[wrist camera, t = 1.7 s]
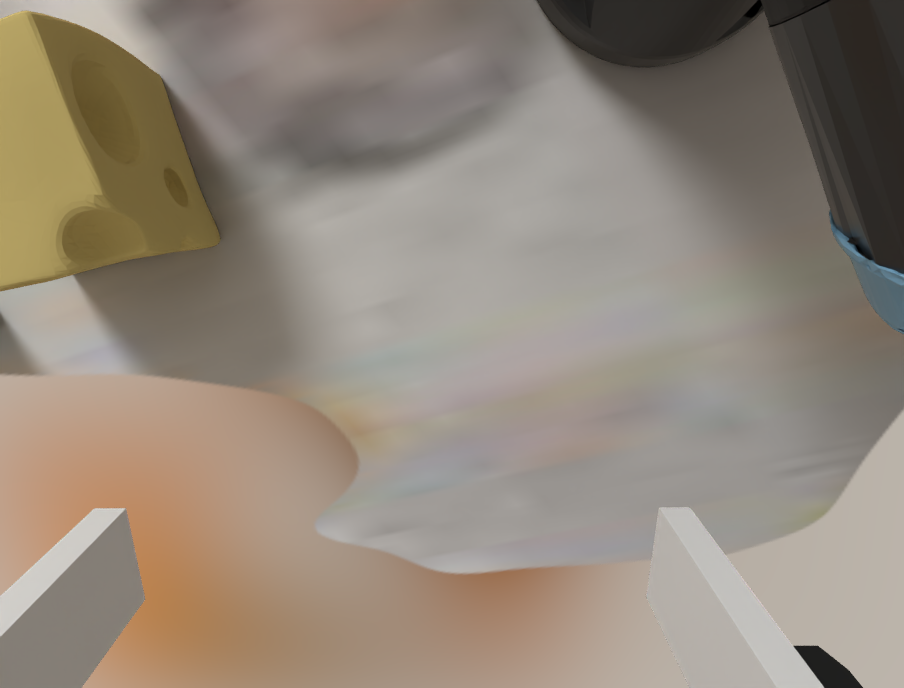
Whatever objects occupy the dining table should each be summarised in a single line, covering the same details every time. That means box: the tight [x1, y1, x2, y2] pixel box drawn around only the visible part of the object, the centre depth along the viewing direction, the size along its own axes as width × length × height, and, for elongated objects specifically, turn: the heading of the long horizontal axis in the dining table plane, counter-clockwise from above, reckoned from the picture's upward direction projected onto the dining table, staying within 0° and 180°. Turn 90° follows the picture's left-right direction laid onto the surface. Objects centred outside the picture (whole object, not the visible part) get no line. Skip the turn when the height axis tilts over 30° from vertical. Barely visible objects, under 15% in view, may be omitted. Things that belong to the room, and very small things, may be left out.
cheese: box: [0, 11, 220, 291], centre depth 26 cm, size 10×11×10 cm
